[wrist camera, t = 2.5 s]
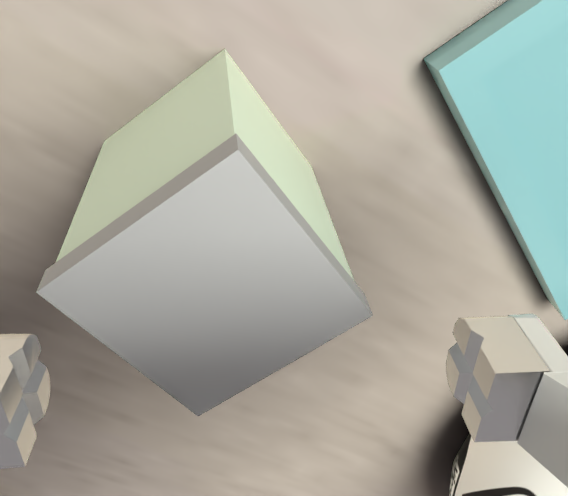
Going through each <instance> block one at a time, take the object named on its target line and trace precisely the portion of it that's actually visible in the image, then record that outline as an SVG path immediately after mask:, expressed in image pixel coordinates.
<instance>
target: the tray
mask: <svg viewBox="0 0 568 496" xmlns="http://www.w3.org/2000/svg"><path fill="white" fill-rule="evenodd" d="M424 61H425V63H426V65H427V66H428V68H429V70H430V72H431V74H432V76H433V78H434V80H435V82H436V84H437V86H438V88H439V90H440V92H441V94H442V95H443V97H444V99H445V101H446V103H447V105H448V107H449V109H450V111H451V113H452V115H453V117H454V119H455V121H456V123H457V125H458V126H459V128H460V130H461V132H462V134H463V136H464V138H465V140H466V142H467V144H468V146H469V148H470V150H471V152H472V154H473V156H474V157H475V159H476V161H477V163H478V165H479V167H480V169H481V171H482V173H483V175H484V177H485V179H486V181H487V183H488V185H489V186H490V188H491V190H492V192H493V194H494V196H495V198H496V200H497V202H498V204H499V206H500V208H501V210H502V212H503V214H504V216H505V217H506V219H507V221H508V223H509V225H510V227H511V229H512V231H513V233H514V235H515V237H516V239H517V241H518V243H519V245H520V246H521V248H522V250H523V252H524V254H525V256H526V258H527V260H528V262H529V264H530V266H531V268H532V270H533V272H534V274H535V276H536V277H537V279H538V281H539V283H540V285H541V287H542V289H543V291H544V293H545V295H546V297H547V299H548V300H549V301H550V303H551V304H552V305H553V306H554V308H555V309H556V310H557V311H558V312H559V314H560V315H561V316H562V317H563V318H564V320H566V319H568V0H508V1H506V2H505V3H504V4H502V5H501V6H499V7H498V8H496V9H495V10H493V11H492V12H490V13H489V14H488V15H486V16H485V17H483V18H482V19H480V20H479V21H477V22H476V23H474V24H473V25H472V26H470V27H469V28H467V29H466V30H464V31H463V32H461V33H460V34H458V35H457V36H456V37H454V38H453V39H451V40H450V41H448V42H447V43H445V44H444V45H442V46H441V47H440V48H438V49H437V50H435V51H434V52H432V53H431V54H429V55H428V56H426V57H425V58H424Z"/></svg>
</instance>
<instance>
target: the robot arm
mask: <svg viewBox="0 0 568 496" xmlns="http://www.w3.org/2000/svg"><path fill="white" fill-rule="evenodd" d="M453 335H454V337H455V339H456V341H457V343H456V344H455V345H454V346H452V347H451V348H450V349H449V350H448V355H447V360H446V374H447V380H448V384H449V387H450V390H451V392H452V394H453V396H454V397H455V398H456V399H458V400H459V401H460V402H462V403H463V404H464V407H463V410H462V414H461V415H462V417H463V419H464V421H465V423H466V426H467V428H468V430H469V432H470V434H471V436H472V439H473V441H474V442H498V441H518V442H517V444H519V445H520V446H521V447H522V448H523V449H524V450H525V451H527V452H528V453H529V454H530V455H531V456H532V457H533V458H534V459H536V460H537V461H538V462H539V463H540V464H541V465H542V466H544V467H545V468H546V469H547V470H548V471H549V472H550V473H552V474H553V475H554V476H555V477H556V478H557V479H558V480H559V481H561V482H562V483H563V484H564V485H565V486H566V487H567V488H568V356H567V355H566V353H565V352H564V351H563V349H562V348H561V347H560V345H559V344H558V343H557V341H556V340H555V339H554V337H553V336H552V335H551V333H550V332H549V331H548V329H547V328H546V327H545V325H544V324H543V323H542V321H541V320H540V319H539V317H537V316H536V315H534V314H520V315H508V316H490V317H467V318H458V320H457V321H456V323H455V326H454V330H453ZM41 350H42V349H41V346H40V343H39V340H38V337H37V336H36V335H34V334H0V469H4V468H16V467H26V464H27V461H28V459H29V456H30V453H31V451H32V448H33V445H34V443H35V440H36V437H37V434H36V431H35V428H34V424H36V423H37V422H38V421H39V420H40V419H42V418H43V417H44V416H45V413H46V410H47V407H48V404H49V398H50V390H51V386H50V376H49V372H48V369H47V367H46V366H45V365H44V364H43V363H41V362H40V361H39V360H38V357H39V355H40V353H41Z"/></svg>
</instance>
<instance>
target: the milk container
mask: <svg viewBox="0 0 568 496" xmlns="http://www.w3.org/2000/svg"><path fill="white" fill-rule="evenodd" d="M517 442H518V441H498V442H474V441H473V439H472V436H471V434H470V433H469V435H468V436H467V438H466V440H465V441H464V443H463V445H462V446H461V448H460V450H459V451H458V453H457V455H456V457H455V460H454V462H453V466H452V472H451V480H450V488H449V496H568V488H567V487H566V486H565V485H564V484H563V483H562V482H561V481H559V480H558V479H557V478H556V477H555V476H554V475H553V474H552V473H550V472H549V471H548V470H547V469H546V468H545V467H544V466H542V465H541V464H540V463H539V462H538V461H537V460H536V459H534V458H533V457H532V456H531V455H530V454H529V453H528V452H527V451H525V450H524V449H523V448H522V447H521V446H520V445H519V444H517Z"/></svg>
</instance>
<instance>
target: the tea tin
mask: <svg viewBox="0 0 568 496" xmlns="http://www.w3.org/2000/svg"><path fill="white" fill-rule="evenodd" d="M36 293H37V294H39V295H40V296H41V297H43V298H44V299H45V300H47V301H48V302H49V303H50V304H52V305H53V306H54V307H56V308H57V309H58V310H60V311H61V312H62V313H64V314H65V315H66V316H67V317H69V318H70V319H71V320H73V321H74V322H75V323H77V324H78V325H79V326H81V327H82V328H83V329H84V330H86V331H87V332H88V333H90V334H91V335H92V336H94V337H95V338H96V339H98V340H99V341H100V342H101V343H103V344H104V345H105V346H107V347H108V348H109V349H111V350H112V351H113V352H115V353H116V354H117V355H118V356H120V357H121V358H122V359H124V360H125V361H126V362H128V363H129V364H130V365H132V366H133V367H134V368H135V369H137V370H138V371H139V372H141V373H142V374H143V375H145V376H146V377H147V378H149V379H150V380H151V381H152V382H154V383H155V384H156V385H158V386H159V387H160V388H162V389H163V390H164V391H166V392H167V393H168V394H169V395H171V396H172V397H173V398H175V399H176V400H177V401H179V402H180V403H181V404H183V405H184V406H185V407H186V408H188V409H189V410H190V411H192V412H193V413H194V414H196V415H197V416H200V415H201V414H203V413H205V412H207V411H208V410H210V409H212V408H213V407H215V406H217V405H219V404H220V403H222V402H224V401H226V400H227V399H229V398H231V397H233V396H234V395H236V394H238V393H239V392H241V391H243V390H245V389H246V388H248V387H250V386H252V385H253V384H255V383H257V382H259V381H260V380H262V379H264V378H265V377H267V376H269V375H271V374H272V373H274V372H276V371H278V370H279V369H281V368H283V367H285V366H286V365H288V364H290V363H291V362H293V361H295V360H297V359H298V358H300V357H302V356H304V355H305V354H307V353H309V352H311V351H312V350H314V349H316V348H317V347H319V346H321V345H323V344H324V343H326V342H328V341H330V340H331V339H333V338H335V337H337V336H338V335H340V334H342V333H344V332H345V331H347V330H349V329H350V328H352V327H354V326H356V325H357V324H359V323H361V322H363V321H364V320H366V319H368V318H370V317H371V316H373V314H372V312H371V309H370V307H369V304H368V302H367V299H366V296H365V294H364V293H363V292H362V290H361V289H360V288H359V287H358V285H357V284H356V283H355V281H354V279H353V276H352V273H351V271H350V268H349V265H348V263H347V260H346V257H345V255H344V252H343V249H342V247H341V244H340V241H339V239H338V236H337V233H336V231H335V228H334V225H333V223H332V220H331V217H330V215H329V212H328V209H327V207H326V204H325V201H324V199H323V196H322V193H321V191H320V188H319V185H318V183H317V180H316V177H315V175H314V172H313V169H312V167H311V165H310V164H309V163H308V161H307V160H306V158H305V157H304V156H303V154H302V153H301V152H300V150H299V149H298V148H297V146H296V145H295V143H294V142H293V141H292V139H291V138H290V137H289V135H288V134H287V133H286V131H285V130H284V128H283V127H282V126H281V124H280V123H279V122H278V120H277V119H276V118H275V116H274V115H273V114H272V112H271V111H270V109H269V108H268V107H267V105H266V104H265V103H264V101H263V100H262V99H261V97H260V96H259V94H258V93H257V92H256V90H255V89H254V88H253V86H252V85H251V84H250V82H249V81H248V80H247V78H246V77H245V75H244V74H243V73H242V71H241V70H240V69H239V67H238V66H237V65H236V63H235V62H234V60H233V59H232V58H231V56H230V55H229V54H228V52H227V51H226V50H225V49H224V50H222V51H221V52H220V53H219V54H217V55H216V56H215V57H213V58H212V59H211V60H209V61H208V62H207V63H205V64H204V65H203V66H202V67H200V68H199V69H198V70H196V71H195V72H194V73H192V74H191V75H190V76H189V77H187V78H186V79H185V80H183V81H182V82H181V83H179V84H178V85H177V86H175V87H174V88H173V89H172V90H170V91H169V92H168V93H166V94H165V95H164V96H162V97H161V98H160V99H159V100H157V101H156V102H155V103H153V104H152V105H151V106H149V107H148V108H147V109H145V110H144V111H143V112H142V113H140V114H139V115H138V116H136V117H135V118H134V119H132V120H131V121H130V122H129V123H127V124H126V125H125V126H123V127H122V128H121V129H119V130H118V131H117V132H115V133H114V134H113V135H112V136H110V137H109V138H108V139H106V140H105V141H104V143H103V146H102V148H101V151H100V153H99V156H98V158H97V161H96V163H95V166H94V168H93V171H92V173H91V176H90V178H89V180H88V183H87V185H86V188H85V190H84V193H83V195H82V198H81V200H80V203H79V205H78V208H77V210H76V213H75V215H74V218H73V220H72V223H71V225H70V228H69V230H68V233H67V235H66V238H65V240H64V243H63V245H62V248H61V250H60V253H59V255H58V258H57V260H56V263H54V264H53V265H51V266H50V267H49V268H47V269H46V270H45V272H44V275H43V277H42V279H41V282H40V284H39V286H38V289H37V291H36Z"/></svg>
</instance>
